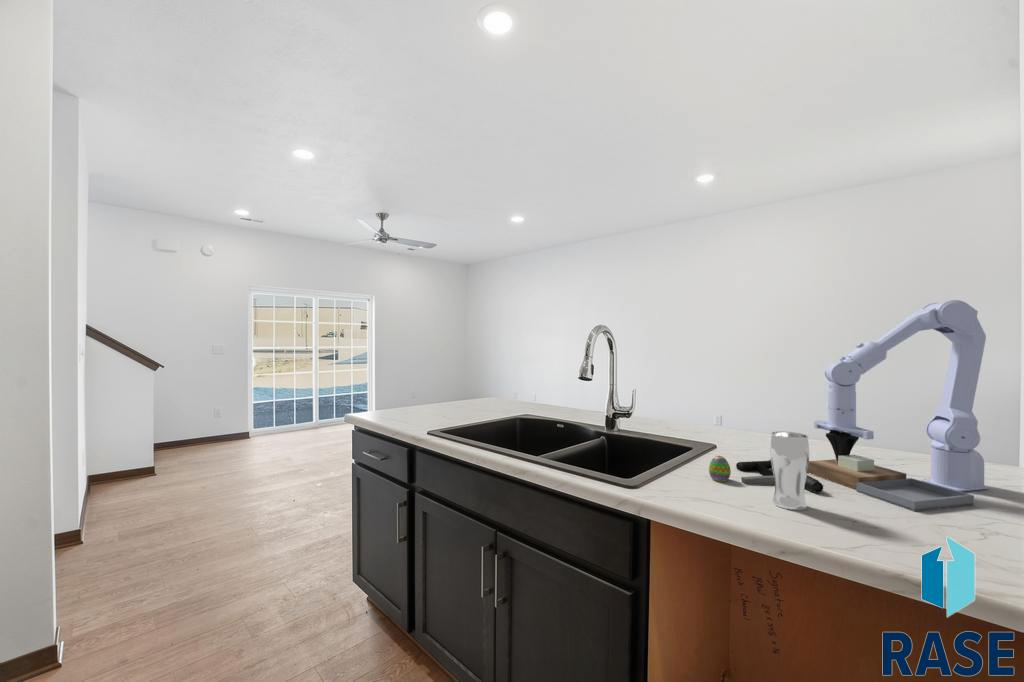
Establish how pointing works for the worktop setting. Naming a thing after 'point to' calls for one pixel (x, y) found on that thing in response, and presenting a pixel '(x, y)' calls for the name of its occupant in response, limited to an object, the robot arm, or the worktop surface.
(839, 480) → the wooden cutting board
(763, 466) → the door handle
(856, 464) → the block
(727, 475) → the egg
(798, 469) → the beer glass
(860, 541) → the worktop surface
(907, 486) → the tray
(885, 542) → the worktop surface
